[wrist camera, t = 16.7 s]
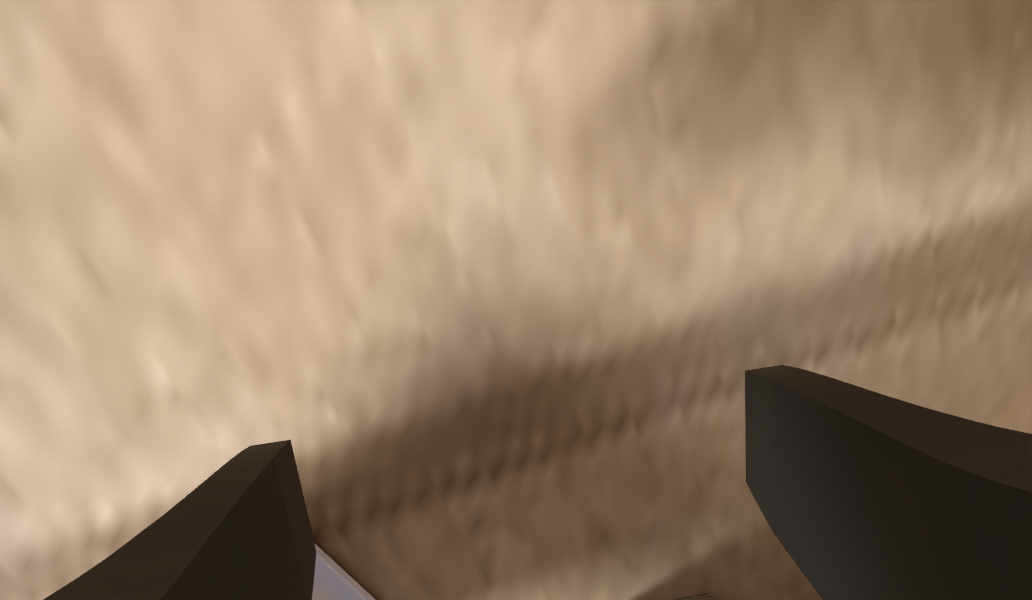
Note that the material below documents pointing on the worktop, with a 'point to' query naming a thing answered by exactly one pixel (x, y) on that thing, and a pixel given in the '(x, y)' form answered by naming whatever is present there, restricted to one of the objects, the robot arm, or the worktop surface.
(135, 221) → the worktop surface
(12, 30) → the worktop surface
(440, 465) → the worktop surface
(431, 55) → the worktop surface
